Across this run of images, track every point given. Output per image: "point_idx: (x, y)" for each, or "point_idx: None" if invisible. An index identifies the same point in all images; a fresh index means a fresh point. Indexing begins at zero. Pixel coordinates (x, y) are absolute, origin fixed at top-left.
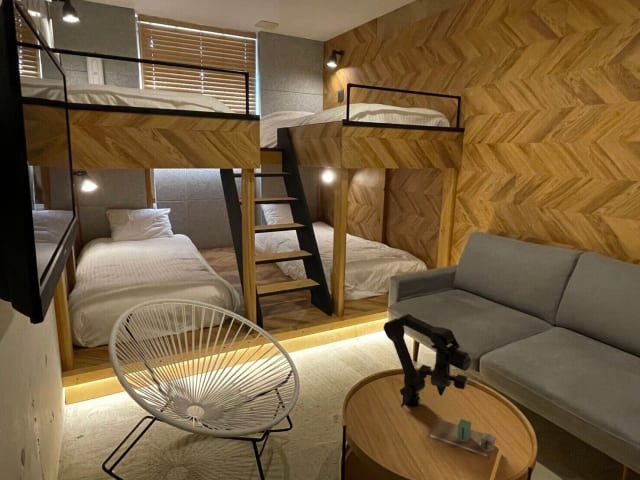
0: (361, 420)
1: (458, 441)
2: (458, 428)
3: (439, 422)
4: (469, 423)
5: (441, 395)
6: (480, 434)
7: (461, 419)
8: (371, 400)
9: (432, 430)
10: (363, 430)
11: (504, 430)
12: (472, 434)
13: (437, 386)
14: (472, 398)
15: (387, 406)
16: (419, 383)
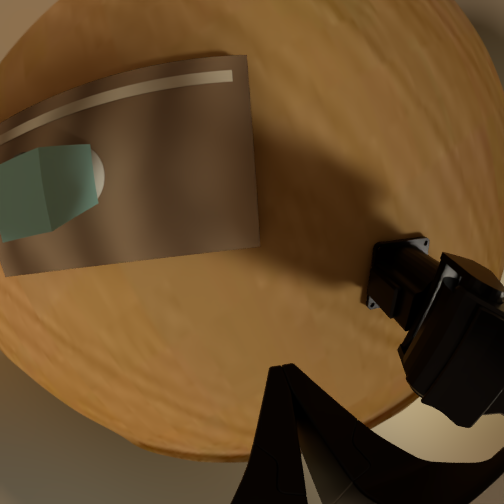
0: (484, 89)
1: (82, 134)
2: (50, 146)
3: (232, 218)
4: (2, 222)
5: (273, 369)
6: (39, 259)
7: (45, 227)
8: (493, 210)
9: (239, 123)
10: (460, 41)
11: (32, 338)
12: (57, 236)
13: (373, 448)
14: (196, 426)
15: (459, 208)
16: (465, 359)
